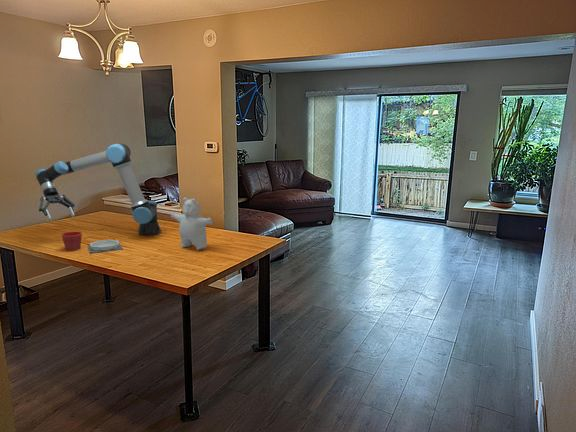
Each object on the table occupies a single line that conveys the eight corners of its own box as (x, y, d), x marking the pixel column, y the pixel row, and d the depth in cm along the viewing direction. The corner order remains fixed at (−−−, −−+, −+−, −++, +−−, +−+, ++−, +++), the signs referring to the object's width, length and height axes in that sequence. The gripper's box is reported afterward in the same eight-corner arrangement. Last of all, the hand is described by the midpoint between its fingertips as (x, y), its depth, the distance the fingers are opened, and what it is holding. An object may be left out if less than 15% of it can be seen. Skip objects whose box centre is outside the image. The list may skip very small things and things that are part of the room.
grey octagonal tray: (118, 242, 258) (118, 238, 257) (123, 249, 243) (122, 245, 242) (87, 245, 249) (87, 241, 248) (90, 253, 234) (89, 249, 233)
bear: (163, 246, 251) (160, 196, 245) (180, 241, 263) (178, 193, 257) (205, 255, 234) (204, 202, 227) (221, 249, 246) (220, 198, 240)
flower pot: (87, 248, 244) (85, 232, 242) (69, 252, 235) (68, 236, 233) (76, 245, 249) (75, 230, 247) (59, 249, 240) (57, 234, 238)
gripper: (68, 192, 263) (81, 218, 257) (26, 196, 244) (38, 224, 238) (71, 185, 258) (84, 211, 252) (28, 188, 239) (40, 216, 233)
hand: (61, 217), depth 245 cm, fingers open, 13 cm apart
